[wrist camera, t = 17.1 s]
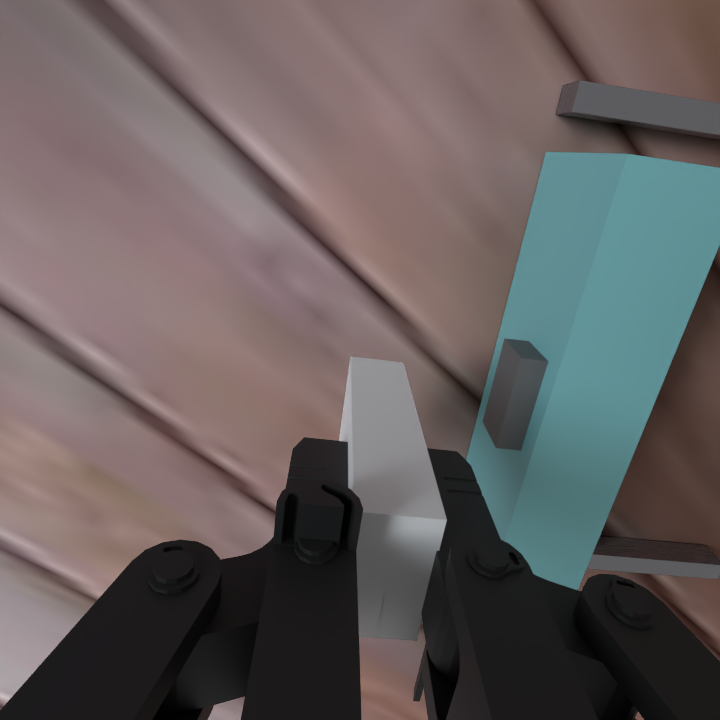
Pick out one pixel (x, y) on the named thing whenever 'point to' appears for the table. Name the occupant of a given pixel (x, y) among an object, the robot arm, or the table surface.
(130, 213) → the table surface
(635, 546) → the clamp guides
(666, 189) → the bar
